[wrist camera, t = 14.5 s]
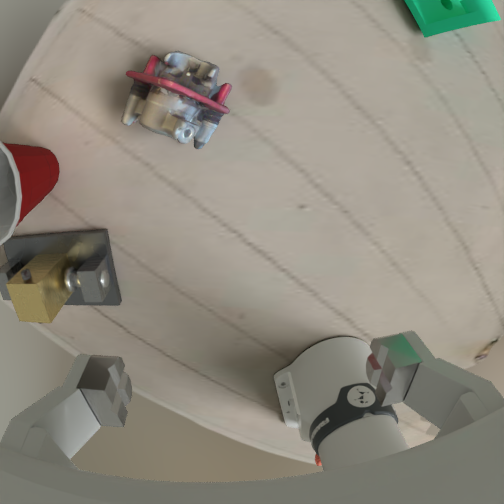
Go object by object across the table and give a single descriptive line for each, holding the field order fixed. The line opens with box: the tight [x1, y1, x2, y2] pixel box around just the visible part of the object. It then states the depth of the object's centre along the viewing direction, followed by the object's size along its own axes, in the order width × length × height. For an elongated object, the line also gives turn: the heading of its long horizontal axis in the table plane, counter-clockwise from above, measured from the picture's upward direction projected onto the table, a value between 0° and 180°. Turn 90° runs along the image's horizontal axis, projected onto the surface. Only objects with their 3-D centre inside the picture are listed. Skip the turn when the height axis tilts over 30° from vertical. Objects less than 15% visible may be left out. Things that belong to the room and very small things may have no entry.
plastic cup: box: [0, 140, 59, 245], centre depth 25 cm, size 11×11×12 cm
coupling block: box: [6, 253, 73, 323], centre depth 31 cm, size 7×5×8 cm
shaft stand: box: [0, 229, 122, 305], centre depth 34 cm, size 10×17×5 cm, turn 90°
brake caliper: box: [121, 51, 232, 149], centre depth 27 cm, size 11×10×11 cm
